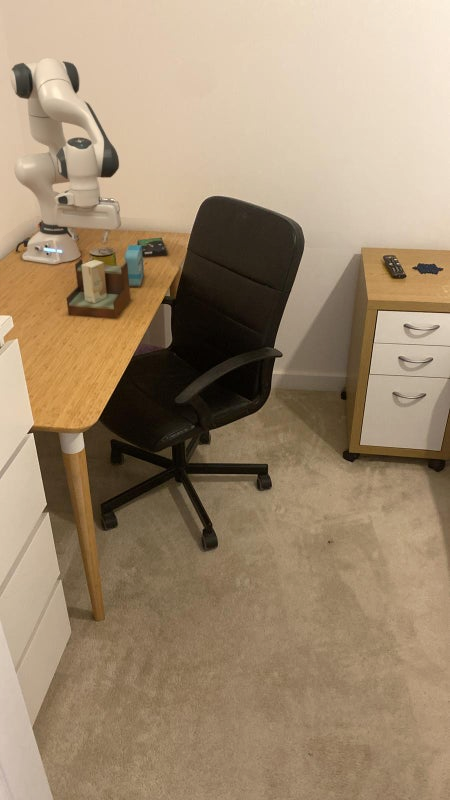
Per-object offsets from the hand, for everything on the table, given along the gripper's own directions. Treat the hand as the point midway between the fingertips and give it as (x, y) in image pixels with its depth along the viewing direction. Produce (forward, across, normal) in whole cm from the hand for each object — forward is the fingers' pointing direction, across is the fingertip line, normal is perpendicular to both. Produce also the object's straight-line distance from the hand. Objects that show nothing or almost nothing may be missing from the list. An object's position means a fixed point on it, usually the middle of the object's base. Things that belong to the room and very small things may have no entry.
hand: (90, 241), depth 201 cm
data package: (+23, -5, -25) cm, 35 cm away
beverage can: (+23, +5, -21) cm, 32 cm away
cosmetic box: (+19, 0, +1) cm, 19 cm away
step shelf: (+23, 0, -1) cm, 23 cm away
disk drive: (+24, -2, -58) cm, 63 cm away
